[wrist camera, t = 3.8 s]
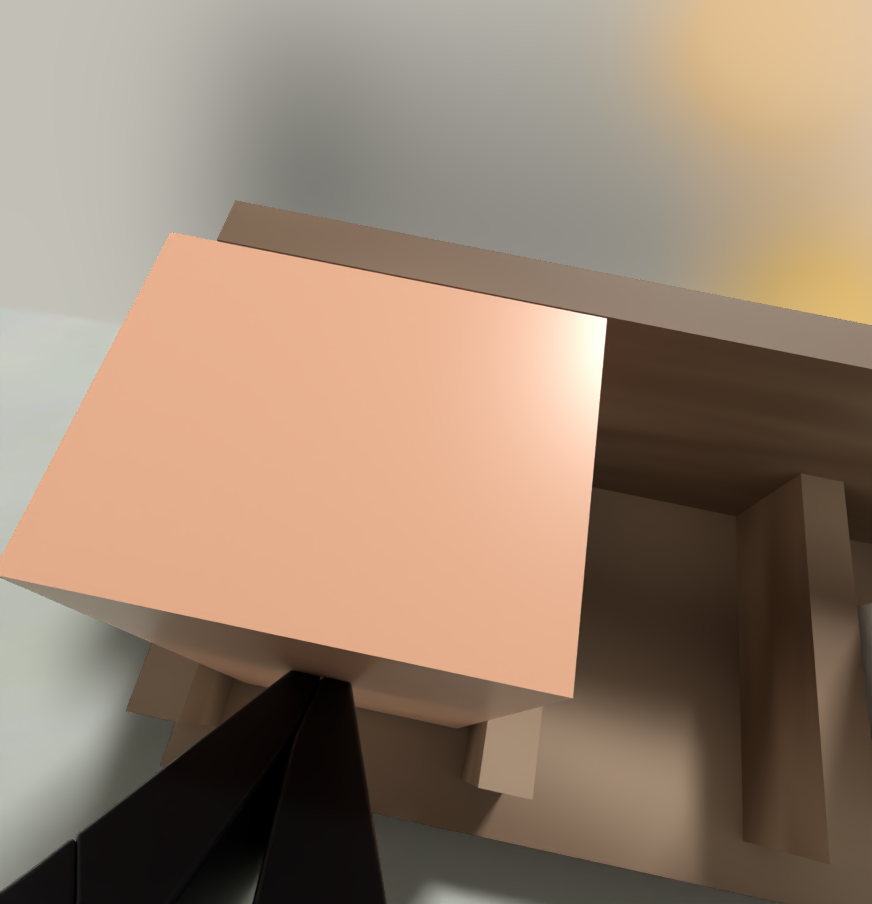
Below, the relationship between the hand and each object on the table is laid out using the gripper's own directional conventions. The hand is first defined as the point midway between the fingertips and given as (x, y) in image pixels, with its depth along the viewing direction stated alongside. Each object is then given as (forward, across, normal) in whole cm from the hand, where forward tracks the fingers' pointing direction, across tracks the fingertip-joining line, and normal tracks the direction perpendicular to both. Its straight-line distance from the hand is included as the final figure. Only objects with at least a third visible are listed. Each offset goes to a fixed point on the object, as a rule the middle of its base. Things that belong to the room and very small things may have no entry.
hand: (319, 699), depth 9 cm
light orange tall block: (+6, 0, +3) cm, 7 cm away
